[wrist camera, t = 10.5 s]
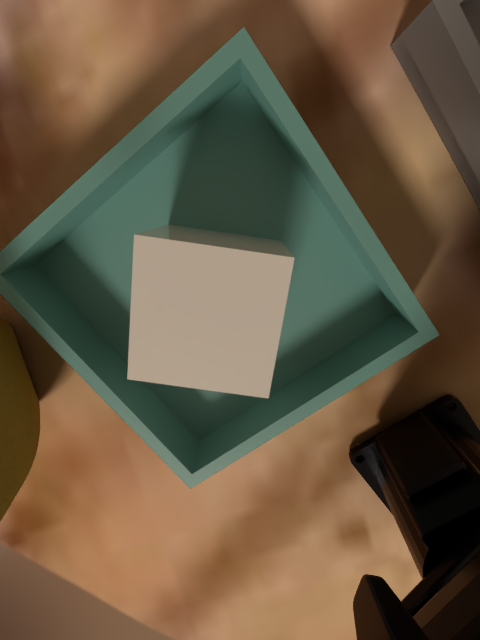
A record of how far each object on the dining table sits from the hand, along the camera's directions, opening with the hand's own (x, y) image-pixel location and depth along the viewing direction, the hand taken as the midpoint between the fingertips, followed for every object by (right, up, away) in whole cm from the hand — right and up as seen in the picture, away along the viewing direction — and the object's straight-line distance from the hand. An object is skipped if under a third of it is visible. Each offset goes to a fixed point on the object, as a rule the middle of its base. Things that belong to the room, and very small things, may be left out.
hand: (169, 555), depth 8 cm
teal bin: (+1, +7, +9) cm, 12 cm away
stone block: (+1, +7, +8) cm, 11 cm away
